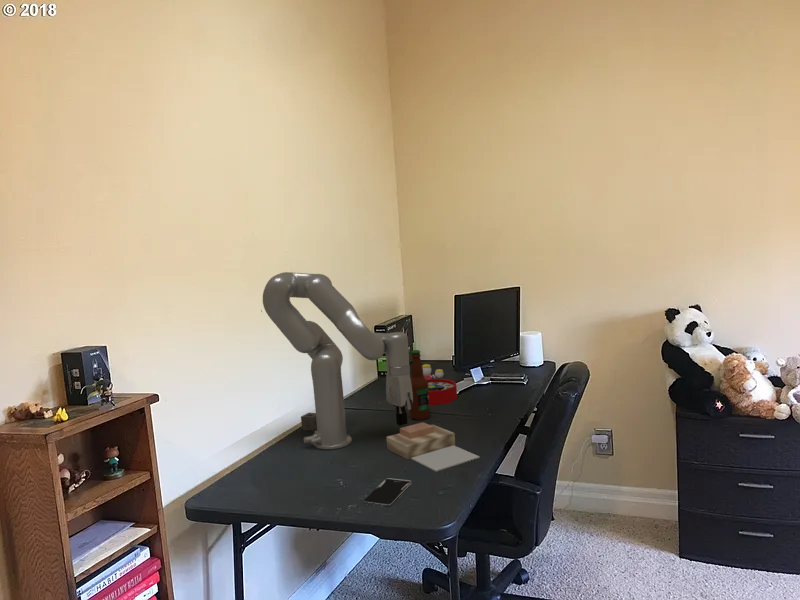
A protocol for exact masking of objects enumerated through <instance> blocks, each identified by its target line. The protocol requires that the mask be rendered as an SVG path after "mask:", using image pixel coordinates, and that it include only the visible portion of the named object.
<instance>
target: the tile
mask: <svg viewBox="0 0 800 600" xmlns="http://www.w3.org/2000/svg"><path fill="white" fill-rule="evenodd" d="M431 425H432V424H428V423H426V422H424V421H423V422H418V423H415V424H410V425H408V426H402V427H400V428H399V433H400V435H403V436H405V437H407V438H409V439H412V438H416V437H420V436H423V435H427V434H430V433H434V427H433V426H431Z"/></svg>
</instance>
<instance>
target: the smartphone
mask: <svg viewBox="0 0 800 600" xmlns="http://www.w3.org/2000/svg"><path fill="white" fill-rule="evenodd" d="M410 485H411V486H412V480H410V479H399V478H391V477H390V478H389V477H387V478H385V479H384V480H383V481H382V482H381V483H379V485H378V486H377V487H376V488H375V489H374V490H372V491H371V492H370V494H369V495H367V496H366V498H364V500H363V503H364V502H368V503H375V504H381V505H391V504H392V503H393V502H394V501H395V500H396V499H397V498H398V497H399V496H400V495H401V494H402V493H403V492H404V491H405V490H406V489H407V488H408V487H409V486H410ZM411 486H410V487H411ZM410 487H409V488H410ZM409 488H408V489H409ZM408 489H407V490H408ZM407 490H406V491H407ZM406 491H405V492H406ZM405 492H404V493H405ZM404 493H403V494H404ZM403 494H402V495H403ZM402 495H401V496H402ZM401 496H400V497H401ZM400 497H399V498H400Z"/></svg>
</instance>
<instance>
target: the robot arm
mask: <svg viewBox="0 0 800 600" xmlns="http://www.w3.org/2000/svg"><path fill="white" fill-rule="evenodd" d="M262 292H263V293H262V304H263V308H264V311H265V313H266V314H267V316H268V317H269V319H270V320H271V321H272V322H273V323H274V325H275V326H276V327H277V328H278V330H279V331H280V332H281V334H282V335H283V336H284V337H285V338H286V339H287V340H288V341H289V343H290V344H291V346H292V347H293V348H294V349H295V350H296V351H297V352H299V353H301V354H307V355H308V356H309V357H310V358H311V359H312V360H311V364H310V373H311V378H312V379H311V380H312V385H313V386H312V387H313V397H314V407H315V413H316V422H317V430H315V431H313V434H311V435H310V436H309V435H308V436H304V437H303V442H304V444H308V443H310V444H313V447H314V448H317V449H319V450H336V449H341V448H344V447H347V446H349V445H350V444H351V443H352V442H353V441H352V437H351V436H350V435H349V434H347V424H346V412H345V411H346V410H345V400H344V387H343V377H342V365H343V360H344V359H343V357H344V356H343V353H342V351H341V349H340V348H339V346H337V344H336V343H335V342H334V341H333V340H332V338H331V337H330V336H329V335H328V333H326V331H325V330H324V329H323V328H322V327H321V326H320V325H319V324H318V323H317V322H315V321H312V320H307V319H306V318H305V317H304V316H303V315H302V314H301V312H300V311H299V310H298V309H297V308H296V307H295V306H294V305H293V304H292V302H291V298H300V299H308V300H309V301H310V302H311V303H312V304H313V305H314V306H315V307H316V308H317V309H318V310H319V311H320V312H321V313H322V314H324V316H325V317H326V318H327V319H328V320H329V321H330V322H331V323H332V324H333V325H334V327H335V328H336V329H337V330H338V331H339V332H340V334H341V335H342V336H343V337H344V338H345V340H346V341H348V343H349V344H350V345H351V346H352V347H353V348H354V349H355V350H356V352H358V353H359V354H360V355H361V356H362V357H363V358H365V359H367V360H369V361H377V360H380V358H381V357H382V356H383V355H384V354H385V361H386V362H385V363H386V378H385V379H386V380H385V396H386V397H385V398H386V401H387V402H388V403H389V404H391V405H392V406H393V408H394V412H395V417H396V425H398V426H400V427H401V426H403V425H404V426H405V425H407V424H408V415H407V413H408V411H410V409H411V404H412V403H413V392H412V384H411V379H410V378H411V366H410V354H409V353H410V351H409V337H408V335H407V333H405V332H401V331H396V332H389V333H387V332H386V333H383V332H373V331H371V330H370V329H369V328H368V327H367V325H365V323H364V322H363V321H362V319H361V318H360V317H359V315H358V312H357V311H356V308H355V307H354V306H353V305H352V303H350V302H349V300H347V298H345V297H344V295H342V294H341V292H340V291H338V289H337V288H336V287H335V286H333V283H332V281H331V278H330V277H329V276H326V275H325V274H323V273H322V274H321V273H306V272H304V273H303V272H288V271H285V272H280V273H278V274H276V275H273V276H272V277H271V278H270V279H269V280H268V281H267V283H266V285H265V286H264V289H263V291H262Z"/></svg>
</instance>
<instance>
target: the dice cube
mask: <svg viewBox="0 0 800 600" xmlns="http://www.w3.org/2000/svg"><path fill="white" fill-rule="evenodd" d="M300 421H301V430H302V429H303V430H302V431H308V430H312V431H311V432H314V431H313V430H315V429H317V422H316V412H307V413H305V414H303V415H301V416H300ZM305 429H306V430H305ZM315 431H316V430H315Z"/></svg>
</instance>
